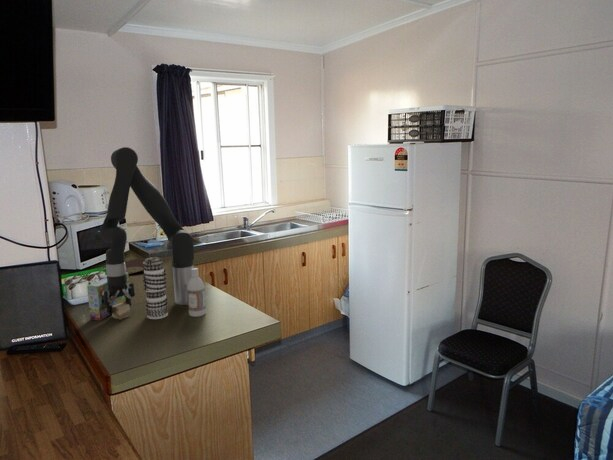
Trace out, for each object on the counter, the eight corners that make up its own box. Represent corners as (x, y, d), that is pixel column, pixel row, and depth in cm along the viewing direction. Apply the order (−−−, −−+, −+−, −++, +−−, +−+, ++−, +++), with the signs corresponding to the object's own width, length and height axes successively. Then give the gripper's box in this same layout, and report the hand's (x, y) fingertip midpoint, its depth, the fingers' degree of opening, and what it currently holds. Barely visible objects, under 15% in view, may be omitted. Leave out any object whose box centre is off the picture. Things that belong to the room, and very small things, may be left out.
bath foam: (185, 316, 183) (182, 270, 180) (194, 310, 190) (191, 266, 186) (200, 317, 181) (197, 271, 178) (208, 312, 188) (206, 267, 184)
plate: (101, 269, 259) (100, 263, 258) (147, 261, 277) (146, 255, 277) (117, 279, 238) (117, 273, 238) (166, 269, 257) (166, 263, 256)
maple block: (130, 315, 185) (129, 304, 184) (120, 319, 181) (119, 308, 180) (122, 313, 188) (121, 302, 187) (112, 317, 183) (111, 306, 182)
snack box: (101, 321, 180) (97, 286, 177) (89, 320, 181) (85, 285, 178) (131, 303, 200) (128, 271, 197) (120, 302, 201) (117, 271, 198)
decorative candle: (173, 315, 185) (168, 258, 180) (152, 321, 178) (147, 262, 174) (163, 309, 191) (158, 254, 186) (142, 315, 185) (137, 258, 180)
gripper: (106, 278, 173) (110, 317, 176) (136, 270, 185) (139, 306, 188) (95, 276, 177) (98, 314, 180) (125, 268, 189) (128, 303, 192)
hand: (119, 310), depth 184 cm, fingers open, 8 cm apart
